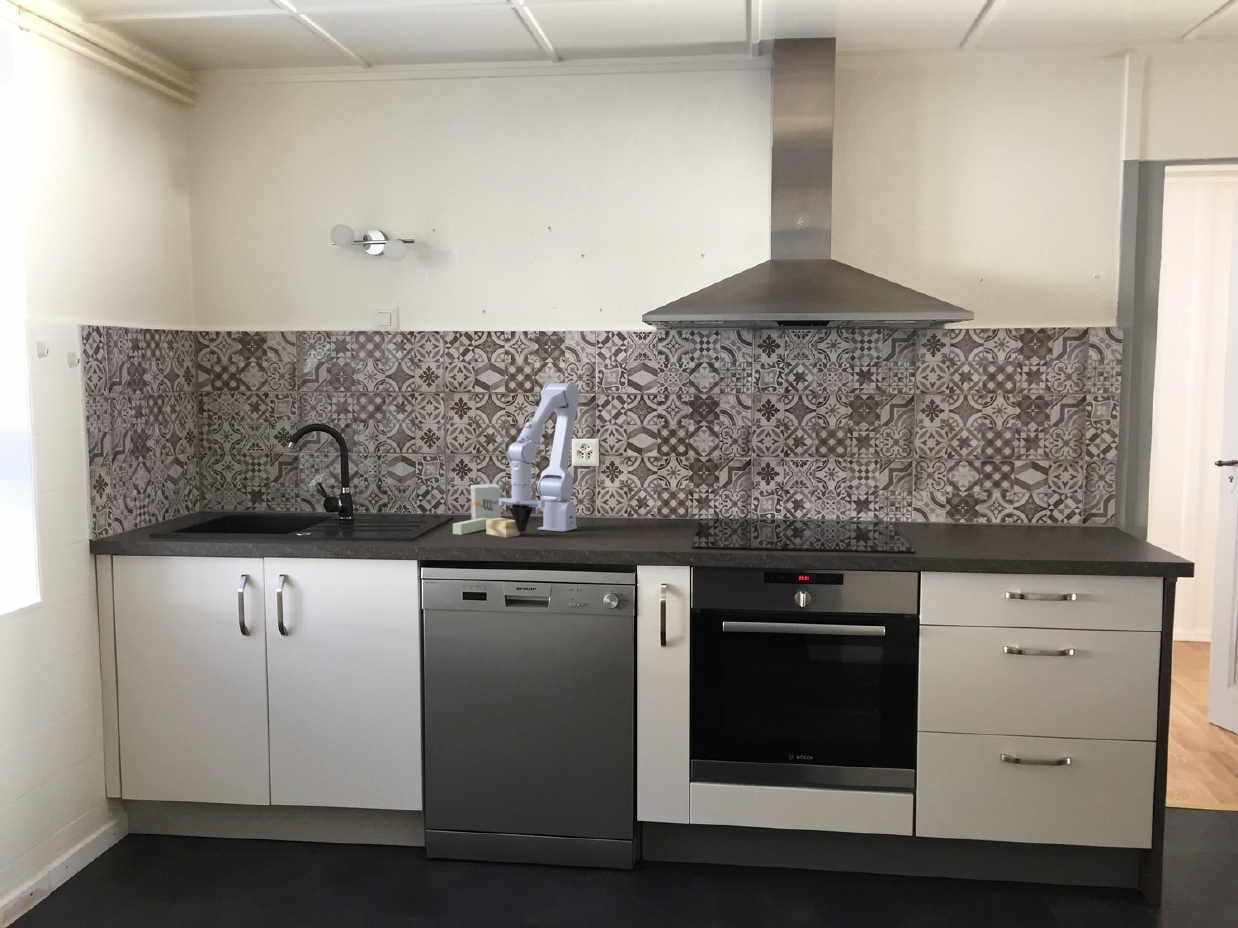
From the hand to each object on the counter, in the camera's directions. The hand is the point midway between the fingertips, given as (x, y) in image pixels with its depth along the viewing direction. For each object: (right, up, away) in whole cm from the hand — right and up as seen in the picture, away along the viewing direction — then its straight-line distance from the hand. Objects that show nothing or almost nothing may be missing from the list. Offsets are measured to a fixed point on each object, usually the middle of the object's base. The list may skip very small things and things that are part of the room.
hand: (521, 531), depth 283 cm
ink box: (-14, +1, +28) cm, 31 cm away
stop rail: (-16, -1, +10) cm, 19 cm away
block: (-6, -1, +3) cm, 7 cm away
